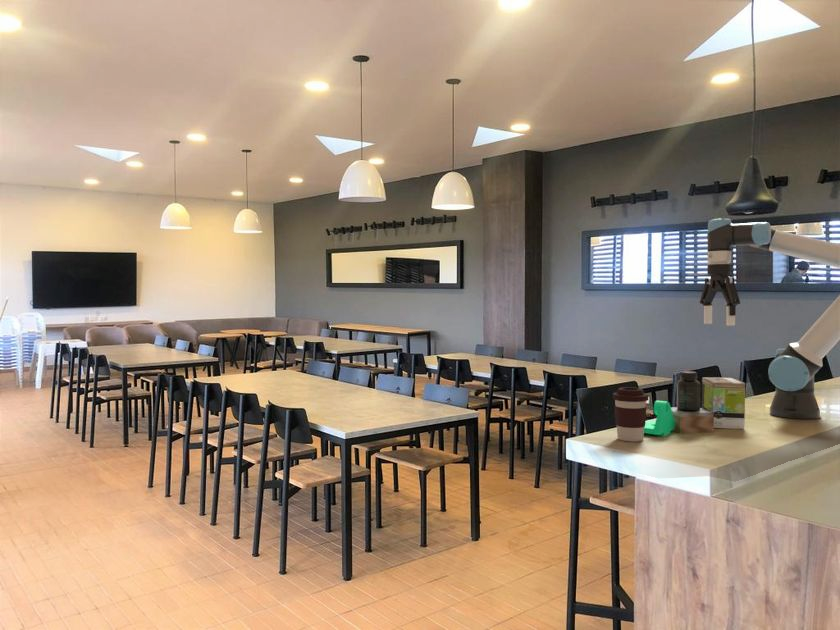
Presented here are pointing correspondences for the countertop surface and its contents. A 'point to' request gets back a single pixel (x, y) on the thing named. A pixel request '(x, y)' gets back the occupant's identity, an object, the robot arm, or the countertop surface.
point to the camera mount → (661, 420)
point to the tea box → (724, 401)
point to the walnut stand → (693, 421)
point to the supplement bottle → (688, 392)
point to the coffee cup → (630, 413)
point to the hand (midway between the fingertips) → (719, 324)
